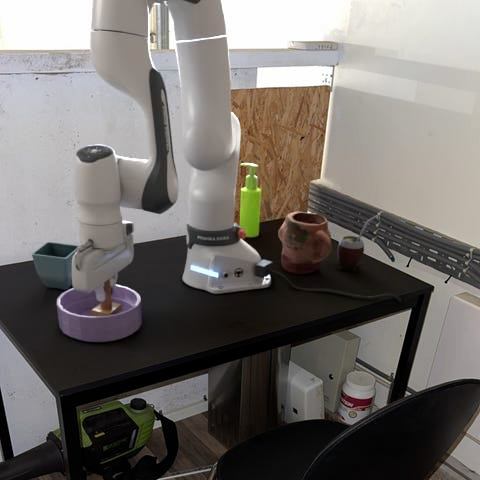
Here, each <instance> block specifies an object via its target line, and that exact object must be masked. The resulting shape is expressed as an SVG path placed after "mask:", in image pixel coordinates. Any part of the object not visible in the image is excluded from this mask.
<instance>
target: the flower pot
mask: <svg viewBox="0 0 480 480" xmlns="http://www.w3.org/2000/svg"><path fill="white" fill-rule="evenodd" d="M78 246H79V245H78V244H68V243H63V242H62V243H60V242H54V241H46V242H45V243H43V244H42V245H41V246H40V247H38V248H37V249H36V250H34V251H33V252H32V253H31V257H32V261H33V264H34V267H35V270H36V271H35V272H36V273H37V275H38V277H39V279H40V281H41V282H42V283H43V284H44V285H45V286H46V287H47V288H50V289H51V288H52V289H59V290H69V289H70V287H71V286H73V285H72V258H73V256H74V254H75V253H76V251H77V248H78Z"/></svg>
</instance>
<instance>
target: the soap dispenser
mask: <svg viewBox="0 0 480 480" xmlns="http://www.w3.org/2000/svg"><path fill="white" fill-rule="evenodd" d="M238 166H240V167H246V168H248V175H246V176H245V186H244V187H242V188H240V205H239V207H240V208H239V211H240V212H239V226H241V228H242V229H244V230H245V232H246V233H247V235H246V236H247V237H246V238H257V237H258V236H259V235H260V234H259V233H260V219H261V218H260V217H261V202H262V188H259V187H258V181H259V179H258V178H259V177H258V176H257V175H256V169H259V165H258V164H256V163H251V162H243V163H238Z"/></svg>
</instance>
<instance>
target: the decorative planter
mask: <svg viewBox="0 0 480 480" xmlns="http://www.w3.org/2000/svg"><path fill="white" fill-rule="evenodd" d="M277 232H278V233H277V234H278V235H277V236H278V238H279V240H280V241H281V243H282V250H281V256H280V261H281V262H280V263H281V266H282V269H284V270H285V271H287V272H288V273H291V274H295V275H303V274H304V275H305V274H310V273H313V272H315V271H318V269H319V267H320V264H321V262H322V261H323V260H324V259H326V258H328V257H329V256H330V254H331V252H332V250H333V249H332V248H333V246H332V235H331V231H330V229H329V223H328V219H327V218H326V217H325V216H324V215H323V214H321V213H315V212H305V211H294V212H290V213H288V214H287V215H286V217H285V219H284V221H283V223H282V225H281V226H280V228H279V229H278V231H277Z"/></svg>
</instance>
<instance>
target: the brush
mask: <svg viewBox="0 0 480 480" xmlns="http://www.w3.org/2000/svg"><path fill="white" fill-rule="evenodd" d="M103 289H104V291H106V292H107V299H106V300H105V301H103V302H102V301H100V302H101V303H100V304H99V305H97V306H96V307H95V308H94V309H92V310H91V313H92V315H93V316H108V315H113V314H118V313H121V309H122V304H119V303H114V302H112V298H111V284H110V279H108V280H107V281H105V282H104V287H103Z"/></svg>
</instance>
